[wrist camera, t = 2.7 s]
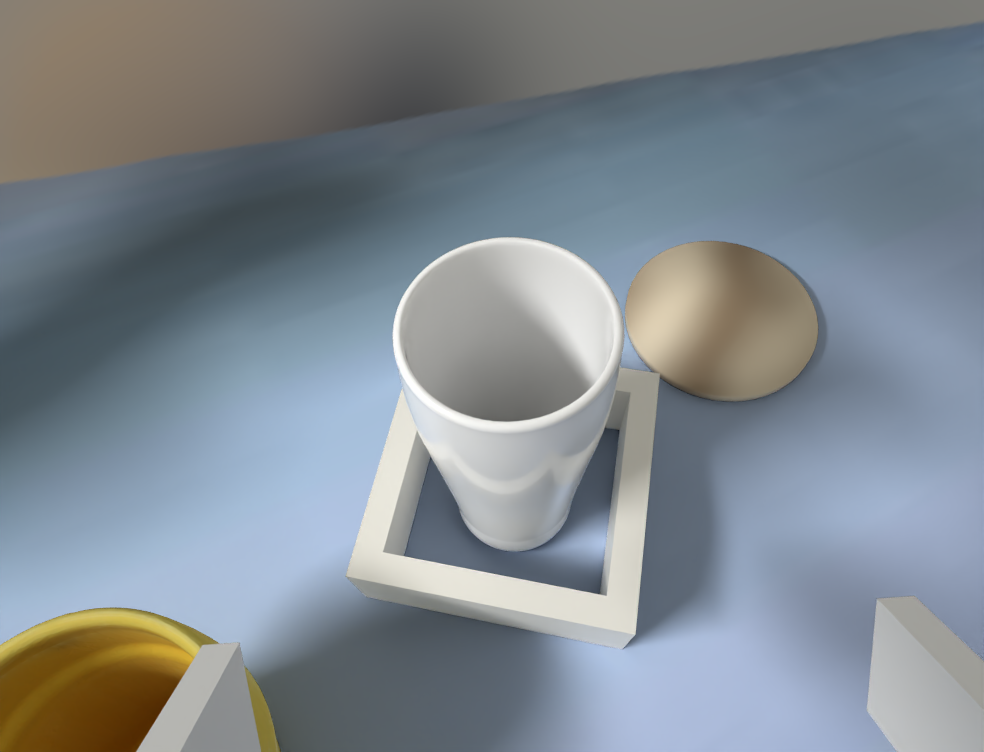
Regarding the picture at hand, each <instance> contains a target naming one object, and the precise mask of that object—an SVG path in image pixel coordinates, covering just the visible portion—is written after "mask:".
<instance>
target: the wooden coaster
mask: <svg viewBox="0 0 984 752" xmlns="http://www.w3.org/2000/svg"><path fill="white" fill-rule="evenodd" d="M625 323H626V329H627V332H628V336H629V339H630V341H631V343H632V345H633V347H634V349H635V351H636V352H637V354H638V355H639V357H640V358H641V359H642V361H643V362H644V363H645V364H646V365H647V366H648V367H649V368H650V369H651V370H652V371H653V372H654V373H660V378H661V379H663V380H664V381H665V382H667V383H669V384H670V385H672V386H674V387H676V388H678V389H680V390H682V391H684V392H686V393H689V394H692V395H695V396H698V397H701V398H706V399H710V400H717V401H727V402H729V401H746V400H753V399H757V398H761V397H765V396H767V395H770V394H772V393H774V392H777V391H778V390H780V389H782V388H783V387H785V386H787V385H788V384H789V383H790V382H792V381H793V380H794V379H795V378H796V377H797V376H798V375H799V374H800V372H801V371H802V370H803V369H804V367H805V366H806V364H807V363H808V361H809V360H810V358H811V356H812V354H813V352H814V349H815V347H816V342H817V338H818V321H817V315H816V311H815V308H814V305H813V303H812V300H811V298H810V296H809V294H808V293H807V291H806V290H805V288H804V286H803V285H802V284H801V283H800V282H799V280H798V279H797V278H796V277H795V276H794V275H793V274H792V273H791V272H790V271H789V270H788V269H786V268H785V267H784V266H783V265H781V264H780V263H779V262H777V261H775V260H774V259H772V258H771V257H769V256H767V255H765V254H763V253H761V252H759V251H756V250H754V249H751V248H748V247H745V246H742V245H738V244H733V243H728V242H719V241H699V242H692V243H686V244H682V245H678V246H675V247H673V248H670V249H668V250H666V251H664V252H662V253H660V254H658V255H657V256H655V257H654V258H652V259H651V260H650V261H649V262H647V263H646V264H645V265H644V266H643V267H642V268H641V270H640V271H639V272H638V273H637V275H636V276H635V278H634V280H633V282H632V284H631V286H630V289H629V292H628V296H627V301H626V306H625Z"/></svg>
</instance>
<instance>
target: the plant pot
mask: <svg viewBox="0 0 984 752" xmlns="http://www.w3.org/2000/svg"><path fill="white" fill-rule="evenodd" d="M210 644H219V643H218V642H216V641H215V640H213V639H212V638H210V637H208V636H206V635H205V634H203V633H201V632H199V631H197V630H195V629H193V628H191V627H189V626H186V625H184V624H182V623H179V622H177V621H174V620H172V619H170V618H167V617H164V616H161V615H158V614H154V613H151V612H147V611H142V610H137V609H130V608H95V609H89V610H83V611H78V612H74V613H69V614H65V615H62V616H59V617H56V618H53V619H51V620H48V621H45V622H43V623H41V624H38V625H36V626H34V627H32V628H30V629H28V630H26V631H24V632H22V633H20V634H18V635H17V636H15V637H13V638H11V639H10V640H8V641H6V642H4V643H3V644H1V645H0V752H136V751H137V750H138V748H139V747H140V745H141V743H142V742H143V740H144V739H145V737H146V735H147V734H148V732H149V730H150V729H151V727H152V726H153V724H154V722H155V721H156V719H157V718H158V716H159V714H160V713H161V711H162V710H163V708H164V706H165V705H166V703H167V701H168V700H169V698H170V697H171V695H172V693H173V692H174V690H175V689H176V687H177V685H178V684H179V682H180V681H181V679H182V677H183V676H184V674H185V672H186V671H187V669H188V668H189V666H190V664H191V663H192V661H193V660H194V658H195V656H196V655H197V653H198V652H199V650H200V648H201V647H202V645H210ZM244 668H245V673H246V678H247V683H248V688H249V693H250V698H251V703H252V708H253V713H254V718H255V723H256V728H257V733H258V738H259V743H260V748H261V752H280V748H279V744H278V741H277V739H276V735H275V729H274V725H273V721H272V718H271V714H270V711H269V708H268V705H267V703H266V700H265V698H264V696H263V694H262V692H261V689H260V688H259V686H258V684H257V682H256V681H255V679H254V678H253V676H252V675H251V673H250V672H249V671H248V669H247V668H246V667H245V666H244Z"/></svg>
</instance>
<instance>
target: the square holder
mask: <svg viewBox="0 0 984 752" xmlns="http://www.w3.org/2000/svg"><path fill="white" fill-rule="evenodd" d="M659 377H660V373H653V372H647V371H640V370H633V369H627V368H620V372H619V378H618V383H617V388H616V392H615V397H614V401H613V405H612V408H611V412H610V415H609V418H608V421H607V424H606V427H605V428H611V429H617V430H620V431H619V439H618V448H617V456H616V464H615V473H614V481H613V489H612V497H611V506H610V514H609V522H608V531H607V539H606V547H605V555H604V564H603V572H602V580H601V588H600V595H599V594H594V593H589V592H584V591H579V590H574V589H569V588H564V587H558V586H553V585H548V584H543V583H538V582H533V581H528V580H523V579H518V578H512V577H507V576H502V575H497V574H492V573H487V572H482V571H477V570H471V569H466V568H461V567H456V566H451V565H446V564H441V563H436V562H430V561H425V560H420V559H415V558H410V557H405V556H404V554H405V551H406V547H407V543H408V539H409V535H410V532H411V528H412V524H413V520H414V517H415V513H416V509H417V505H418V501H419V498H420V494H421V490H422V486H423V482H424V479H425V475H426V471H427V467H428V463H429V460H430V454H429V453H428V451H427V449H426V447H425V445H424V444H423V442H422V440H421V438H420V436H419V433H418V431H417V429H416V426H415V424H414V422H413V419H412V417H411V414H410V411H409V408H408V405H407V402H406V399H405V395H404V392H403V388H402V390H401V394H400V397H399V400H398V404H397V407H396V410H395V414H394V417H393V420H392V423H391V427H390V430H389V433H388V437H387V440H386V443H385V447H384V450H383V453H382V457H381V460H380V463H379V467H378V470H377V473H376V477H375V480H374V483H373V487H372V490H371V493H370V497H369V500H368V503H367V507H366V510H365V513H364V517H363V520H362V523H361V527H360V530H359V533H358V537H357V540H356V543H355V546H354V550H353V553H352V556H351V560H350V563H349V566H348V570H347V573H346V577H347V578H348V579H349V580H350V581H351V582H352V583H353V584H354V585H355V586H356V587H357V588H358V589H359V590H360V591H361V592H362V593H363V594H364V595H365V596H366V597H369V598H374V599H378V600H383V601H388V602H393V603H398V604H403V605H408V606H413V607H417V608H422V609H427V610H432V611H437V612H442V613H447V614H452V615H456V616H461V617H466V618H471V619H476V620H481V621H486V622H491V623H496V624H500V625H505V626H510V627H515V628H520V629H525V630H530V631H535V632H539V633H544V634H549V635H554V636H559V637H564V638H569V639H574V640H578V641H583V642H588V643H593V644H598V645H603V646H608V647H613V648H617V649H623V648H624V647H625V646H626V645H627V643H628V642H629V641H630V640H631V639H632V638H633V637H634V636H635V634H636V623H637V613H638V602H639V591H640V581H641V570H642V559H643V548H644V538H645V527H646V516H647V506H648V495H649V484H650V474H651V463H652V452H653V442H654V431H655V420H656V409H657V399H658V388H659Z"/></svg>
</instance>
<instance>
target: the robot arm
mask: <svg viewBox="0 0 984 752" xmlns="http://www.w3.org/2000/svg"><path fill="white" fill-rule="evenodd" d="M867 711H868V713H869V714H870V716H871V717H872V718H873V720H874V721H875V722H876V724H877V725H878V726H879V728H880V729H881V730H882V732H883V733H884V735H885V736H886V737H887V739H888V740H889V741H890V743H891V744H892V745H893V747H894V748H895V750H896V751H897V752H984V661H983V660H982V659H981V658H980V657H979V656H977V655H976V654H975V653H974V652H973V651H972V650H971V649H970V648H969V647H968V646H967V645H966V644H965V643H964V642H963V641H962V640H961V639H959V638H958V637H957V636H956V635H955V634H954V633H953V632H952V631H951V630H950V629H949V628H948V627H947V626H946V625H945V624H944V623H943V622H941V621H940V620H939V619H938V618H937V617H936V616H935V615H934V614H933V613H932V612H931V611H930V610H929V609H928V608H927V607H926V606H925V605H923V604H922V603H921V602H920V601H919V600H918V599H917V598H916V597H915V596H907V597H892V598H878V599H877V603H876V614H875V625H874V636H873V647H872V658H871V669H870V680H869V691H868V702H867ZM136 752H261V748H260V743H259V738H258V733H257V728H256V723H255V718H254V713H253V708H252V703H251V698H250V693H249V688H248V683H247V678H246V673H245V668H244V663H243V658H242V653H241V648H240V643H224V644H210V645H202V647H201V648H200V650H199V652H198V653H197V655H196V656H195V658H194V660H193V661H192V663H191V664H190V666H189V668H188V669H187V671H186V672H185V674H184V676H183V677H182V679H181V681H180V682H179V684H178V685H177V687H176V689H175V690H174V692H173V693H172V695H171V697H170V698H169V700H168V701H167V703H166V705H165V706H164V708H163V710H162V711H161V713H160V714H159V716H158V718H157V719H156V721H155V722H154V724H153V726H152V727H151V729H150V730H149V732H148V734H147V735H146V737H145V739H144V740H143V742H142V743H141V745H140V747H139V748H138V750H137V751H136Z"/></svg>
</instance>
